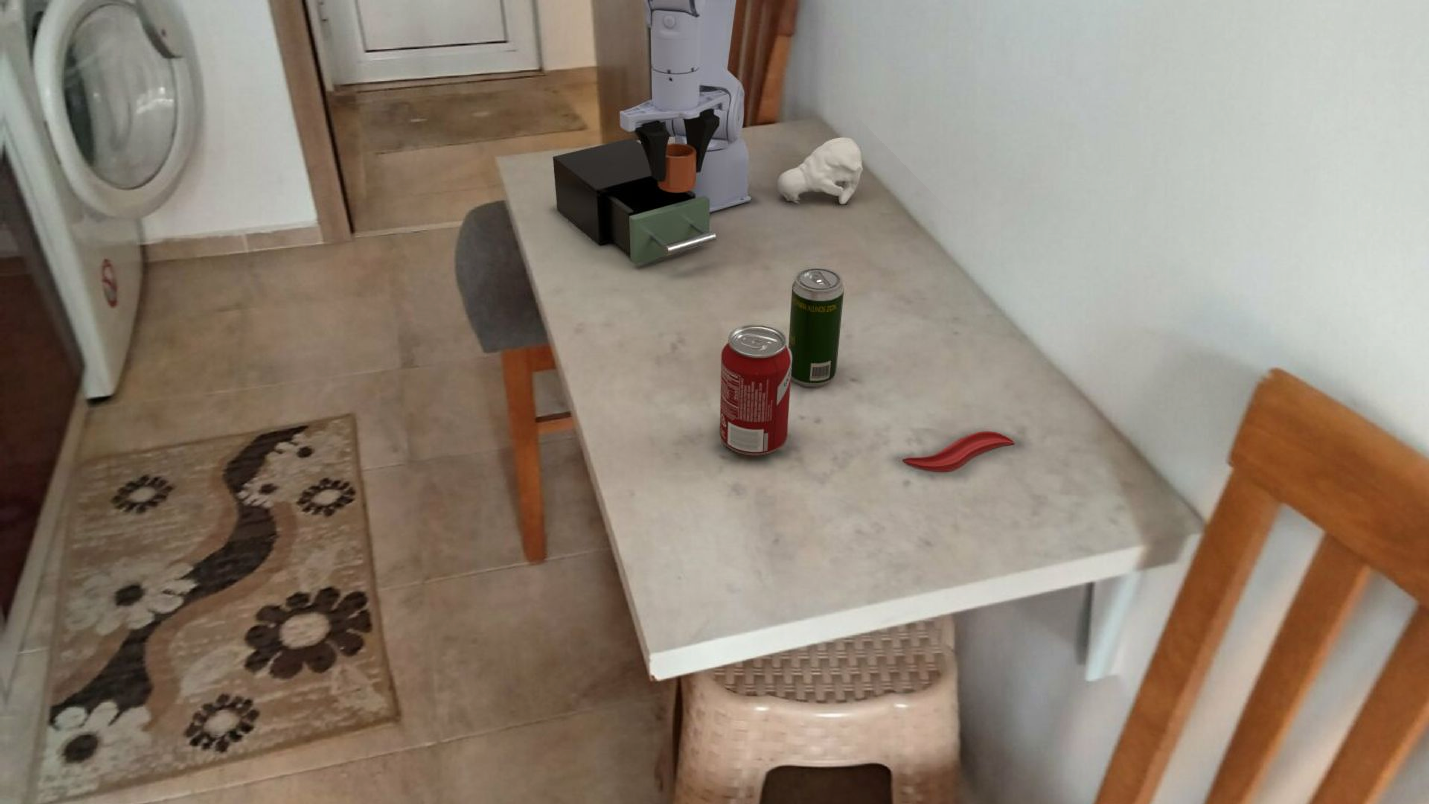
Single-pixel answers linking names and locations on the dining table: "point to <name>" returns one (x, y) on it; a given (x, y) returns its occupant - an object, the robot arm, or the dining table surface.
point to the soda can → (755, 390)
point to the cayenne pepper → (960, 451)
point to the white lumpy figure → (825, 171)
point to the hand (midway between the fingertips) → (676, 174)
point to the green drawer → (655, 220)
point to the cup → (679, 168)
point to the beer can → (815, 326)
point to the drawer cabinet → (596, 181)
